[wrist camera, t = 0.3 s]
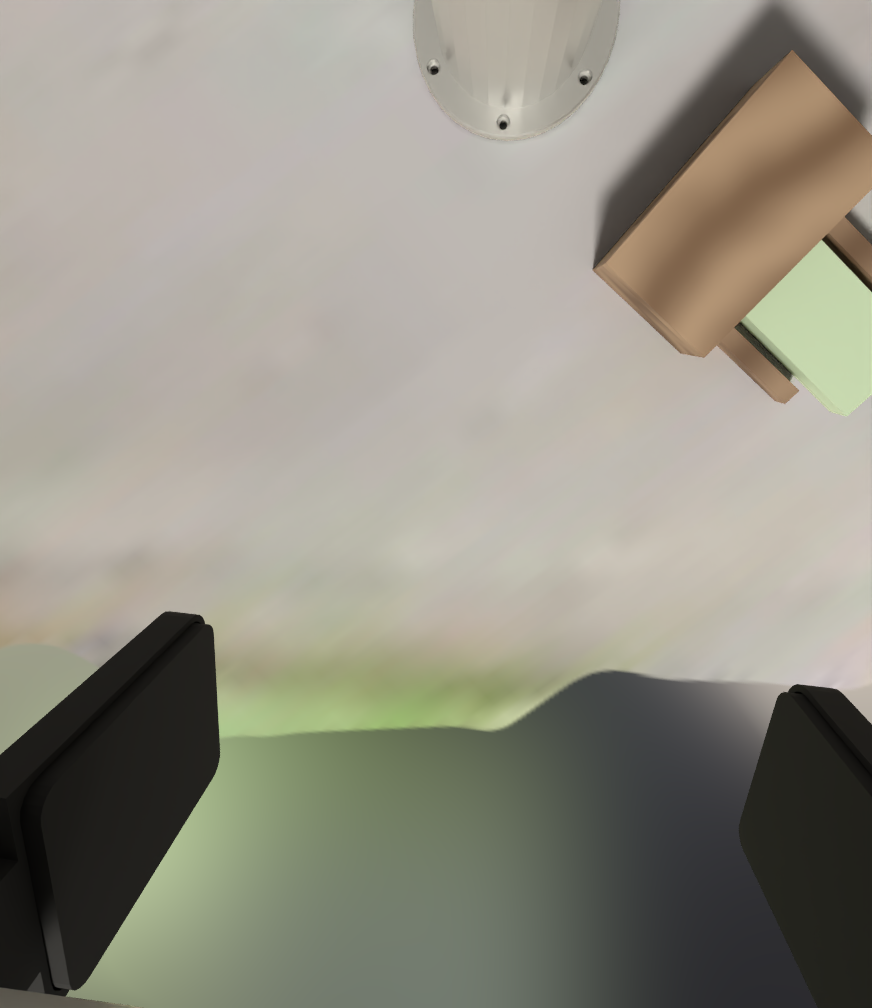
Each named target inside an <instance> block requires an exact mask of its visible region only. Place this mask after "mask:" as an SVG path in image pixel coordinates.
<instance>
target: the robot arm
mask: <svg viewBox="0 0 872 1008" xmlns="http://www.w3.org/2000/svg"><path fill="white" fill-rule="evenodd" d="M619 15H620V0H415V3H414V10H413V37H414V43H415V48H416V54H417V59H418V63H419V66H420V69H421V73H422V75H423V78H424V80H425V82H426V84H427V86H428V89H429V91H430V93H431V94H432V96H433V97H434V99H435V100H436V102H437V103H438V105H439V106H440V107H441V109H442V110H443V111H444V112H445V113H446V114H447V115H448V116H449V117H450V118H451V119H452V120H453V121H454V122H455V123H457V124H459V125H460V126H462V127H463V128H465V129H466V130H468V131H470V132H471V133H474V134H477V135H480V136H482V137H485V138H488V139H495V140H503V141H511V140H522V139H527V138H530V137H533V136H537V135H540V134H543V133H545V132H547V131H548V130H550V129H552V128H554V127H556V126H558V125H559V124H561V123H562V122H563V121H565V120H566V119H567V118H568V117H569V116H571V115H572V114H573V113H574V112H576V111H577V109H578V108H579V107H580V106H581V105H582V104H583V102H584V101H585V100H586V99H587V98H588V97H589V96H590V94H591V92H592V91H593V89H594V88H595V86H596V84H597V83H598V81H599V79H600V78H601V76H602V74H603V71H604V69H605V67H606V65H607V63H608V61H609V58H610V54H611V51H612V48H613V45H614V42H615V39H616V34H617V28H618V21H619ZM435 68H436V69H438V70H439V71H438V73H437V74H436V75H432V74H431V71H432V70H433V69H435ZM581 78H585V79H586V80H587V84H586V85H582V84H580V79H581ZM503 122H504V123H506V125H507V128H506V129H504V130H502V129H500V128H499V125H500V124H501V123H503ZM219 758H220V743H219V724H218V706H217V687H216V668H215V649H214V633H213V628H212V626H210V625H207V624H205V621H204V619H203V617H202V616H200V615H196V614H187V613H179V612H170V611H169V612H164V613H163V614H161V615H160V616H159V617H158V618H157V619H155V620H154V621H153V622H152V623H151V624H150V625H149V626H147V627H146V628H145V629H144V630H143V631H142V632H140V633H139V634H138V635H137V636H136V637H135V638H134V639H132V640H131V641H130V642H129V643H128V644H127V645H126V646H124V647H123V648H122V649H121V650H120V651H119V652H118V653H116V654H115V655H114V656H113V657H112V658H111V659H110V660H108V661H107V662H106V663H105V664H104V665H103V666H102V667H100V668H99V669H98V670H97V671H96V672H95V673H94V674H92V675H91V676H90V677H89V678H88V679H87V680H85V681H84V682H83V683H82V684H81V685H80V686H79V687H77V689H75V690H74V691H73V692H72V693H71V694H70V695H68V696H67V697H66V698H65V699H64V700H63V701H61V702H60V703H59V704H58V705H57V706H56V707H55V708H53V709H52V710H51V711H50V712H49V713H48V714H46V716H44V717H43V718H42V719H41V720H40V721H38V722H37V723H36V724H35V725H34V726H33V727H32V728H30V729H29V730H28V731H27V732H26V733H25V734H24V735H22V736H21V737H20V738H19V739H18V740H17V741H16V742H14V743H13V744H12V745H11V746H10V747H9V748H8V749H6V750H5V751H4V752H3V753H2V754H1V755H0V1008H142V1007H136V1006H130V1005H123V1004H115V1003H108V1002H101V1001H94V1000H86V999H79V998H72V997H65V996H66V995H67V993H68V992H69V990H77V989H79V988H80V987H81V986H82V985H83V984H84V983H85V982H86V981H87V979H88V978H89V977H90V975H91V974H92V972H93V970H94V969H95V967H96V966H97V964H98V962H99V961H100V959H101V957H102V955H103V954H104V952H105V951H106V949H107V948H108V946H109V945H110V943H111V941H112V940H113V938H114V936H115V935H116V933H117V932H118V930H119V928H120V927H121V925H122V924H123V922H124V920H125V919H126V917H127V916H128V914H129V912H130V911H131V909H132V908H133V906H134V904H135V902H136V901H137V899H138V898H139V896H140V895H141V893H142V891H143V890H144V888H145V886H146V885H147V883H148V882H149V880H150V878H151V877H152V875H153V873H154V872H155V870H156V868H157V867H158V866H159V864H160V862H161V861H162V859H163V857H164V856H165V854H166V853H167V851H168V849H169V848H170V846H171V845H172V843H173V841H174V840H175V838H176V836H177V835H178V833H179V832H180V830H181V828H182V826H183V825H184V824H185V822H186V820H187V819H188V817H189V815H190V814H191V812H192V811H193V809H194V807H195V806H196V804H197V803H198V801H199V799H200V798H201V796H202V795H203V793H204V791H205V790H206V788H207V787H208V785H209V783H210V782H211V780H212V778H213V777H214V775H215V773H216V770H217V767H218V763H219ZM739 836H740V842H741V846H742V848H743V851H744V853H745V855H746V857H747V859H748V861H749V863H750V865H751V868H752V870H753V872H754V874H755V876H756V878H757V880H758V882H759V885H760V886H761V889H762V891H763V893H764V895H765V897H766V899H767V901H768V904H769V906H770V908H771V910H772V912H773V914H774V916H775V918H776V920H777V923H778V925H779V927H780V929H781V931H782V933H783V935H784V937H785V939H786V942H787V944H788V946H789V948H790V950H791V952H792V954H793V956H794V959H795V961H796V963H797V965H798V967H799V969H800V971H801V973H802V975H803V978H804V980H805V982H806V984H807V986H808V988H809V990H810V992H811V995H812V997H813V999H814V1001H815V1003H816V1005H817V1007H818V1008H872V724H871V723H870V722H869V721H868V720H867V719H866V718H865V717H864V716H863V715H862V714H861V713H860V712H859V711H858V709H856V707H855V706H854V705H853V704H852V703H851V702H850V701H849V700H848V699H847V698H846V697H845V696H844V695H843V694H842V693H841V692H840V691H839V690H837V689H833V688H825V687H816V686H808V685H799V684H797V685H794V686H792V687H791V688H790V689H789V691H788V692H784V693H781V694H780V695H779V696H778V698H777V701H776V704H775V707H774V710H773V714H772V717H771V720H770V723H769V727H768V730H767V733H766V737H765V740H764V744H763V747H762V750H761V753H760V757H759V760H758V763H757V767H756V770H755V773H754V777H753V780H752V783H751V787H750V790H749V793H748V797H747V800H746V803H745V806H744V810H743V813H742V816H741V820H740V824H739Z"/></svg>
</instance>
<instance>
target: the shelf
mask: <svg viewBox="0 0 872 1008" xmlns="http://www.w3.org/2000/svg"><path fill="white" fill-rule="evenodd" d="M871 189H872V135H871V134H870V133H869V132H868V131H867V130H866V129H865V128H864V127H863V126H862V125H861V123H860V122H859V121H858V120H857V119H856V118H855V117H854V116H853V115H852V114H851V113H850V112H849V111H848V109H847V108H846V107H845V106H844V105H843V104H842V103H841V102H840V101H839V100H838V99H837V98H836V97H835V95H834V94H833V93H832V92H831V91H830V90H829V89H828V88H827V87H826V86H825V85H824V84H823V82H822V81H821V80H820V79H819V78H818V77H817V76H816V75H815V74H814V73H813V72H812V71H811V70H810V68H809V67H808V66H807V65H806V64H805V63H804V62H803V61H802V60H801V59H800V58H799V57H798V56H797V54H796V53H795V52H794V51H793V50H792V51H790V52H789V53H788V54H787V55H786V56H785V57H784V58H783V59H782V60H781V61H779V62H778V63H777V64H776V65H775V66H774V67H773V68H772V69H771V70H770V71H768V72H767V73H766V74H765V75H764V76H763V77H762V78H761V79H760V80H759V81H757V82H756V83H755V84H754V85H753V86H752V87H751V89H750V90H749V91H748V92H747V93H746V94H745V95H744V97H743V98H742V99H741V100H740V101H739V102H738V104H737V105H736V106H735V107H734V108H733V109H732V110H731V112H730V113H729V114H728V115H727V116H726V117H725V118H724V120H723V121H722V122H721V123H720V124H719V125H718V127H717V128H716V129H715V130H714V131H713V132H712V133H711V135H710V136H709V137H708V138H707V139H706V140H705V141H704V143H703V144H702V145H701V146H700V147H699V148H698V149H697V151H696V152H695V153H694V154H693V155H692V156H691V158H690V159H689V160H688V161H687V162H686V163H685V164H684V166H683V167H682V168H681V169H680V170H679V171H678V172H677V174H676V175H675V176H674V177H673V178H672V179H671V181H670V182H669V183H668V184H667V185H666V186H665V187H664V189H663V190H662V191H661V192H660V193H659V194H658V195H657V197H656V198H655V199H654V200H653V201H652V202H651V204H650V205H649V206H648V207H647V208H646V209H645V210H644V212H643V213H642V214H641V215H640V216H639V217H638V218H637V220H636V221H635V222H634V223H633V224H632V225H631V226H630V228H629V229H628V230H627V231H626V232H625V233H624V235H623V236H622V237H621V238H620V239H619V240H618V241H617V243H616V244H615V245H614V246H613V247H612V248H611V249H610V251H609V252H608V253H607V254H606V255H605V256H604V258H603V259H602V260H601V261H600V262H599V263H598V264H597V266H596V267H595V268H594V269H593V271H594V272H595V273H596V274H597V275H598V276H599V277H600V278H602V279H603V280H604V281H605V282H606V283H607V284H608V285H609V286H610V287H611V288H612V289H613V290H614V291H615V292H616V293H617V294H618V295H619V296H621V297H622V298H623V299H624V300H625V301H626V302H627V303H628V304H629V305H630V306H631V307H632V308H633V309H634V310H635V311H636V312H637V313H638V314H640V315H641V316H642V317H643V318H644V319H645V320H646V321H647V322H648V323H649V324H650V325H651V326H652V327H653V328H654V329H655V330H656V331H658V332H659V333H660V334H661V335H662V336H663V337H664V338H665V339H666V340H667V341H668V342H669V343H670V344H671V345H672V346H673V347H674V348H675V349H677V350H678V351H679V352H680V353H681V354H687V355H693V356H698V357H705V356H706V355H707V354H708V353H709V352H710V351H711V350H712V349H713V348H714V347H715V346H716V345H717V346H718V347H719V348H720V349H721V350H722V351H724V352H725V353H726V354H727V355H728V356H729V357H730V358H731V359H732V360H733V361H734V362H735V363H736V364H737V365H738V366H739V367H740V368H741V369H742V370H743V371H744V372H745V373H746V374H747V375H749V376H750V377H751V378H752V379H753V380H754V381H755V382H756V383H757V384H758V385H759V386H760V387H761V388H762V389H763V390H764V391H765V392H766V393H767V394H768V395H769V396H770V397H771V398H772V399H774V400H775V401H777V402H780V403H784V404H785V403H787V402H788V401H789V400H790V399H791V398H792V397H793V396H794V395H795V394H796V393H797V392H798V391H799V390H798V389H797V388H796V387H795V386H794V385H793V384H792V383H791V382H790V381H789V380H788V379H787V378H786V377H785V376H784V375H783V374H782V373H781V372H780V371H778V370H777V369H776V368H775V367H774V366H773V365H772V364H771V363H770V362H769V361H768V360H767V359H766V358H765V357H764V356H763V355H762V354H761V353H760V352H759V351H758V350H757V349H756V348H755V347H754V346H753V345H752V344H751V343H750V342H749V341H748V340H747V339H745V338H744V337H743V336H742V335H741V334H740V333H739V332H738V331H737V330H736V329H735V328H734V327H735V326H736V325H737V324H738V323H739V322H740V321H741V320H742V319H743V318H744V317H745V316H746V315H747V314H748V313H749V312H750V311H751V310H752V309H753V308H754V307H755V306H756V305H757V304H758V303H759V302H760V301H761V300H762V299H763V298H764V297H765V296H766V295H767V294H768V293H769V292H770V291H771V290H772V289H773V288H774V287H775V286H776V285H777V284H778V283H779V282H780V281H781V280H782V279H783V278H784V277H785V276H786V275H787V274H788V273H789V272H790V271H791V270H792V269H793V268H794V267H795V266H796V265H797V264H798V263H799V262H800V261H801V260H802V259H803V258H804V257H805V256H806V255H807V254H808V253H809V252H810V251H811V250H812V249H813V248H814V247H815V246H816V245H817V244H818V243H819V242H820V241H821V240H822V241H823V242H824V243H825V244H826V245H827V246H828V247H829V248H830V249H831V250H832V251H833V252H834V253H835V254H836V255H837V256H838V258H839V259H840V260H841V261H842V262H843V263H844V264H845V265H846V266H847V267H848V268H849V269H850V270H851V271H852V272H853V273H854V274H855V275H856V276H857V277H858V278H859V280H860V281H861V282H862V283H863V284H864V285H865V286H866V287H867V288H868V289H869V290H870V291H871V292H872V245H871V244H870V243H869V242H868V241H867V240H866V238H865V237H864V236H863V235H862V234H861V233H860V232H859V231H858V230H857V229H856V228H855V227H854V226H853V225H852V224H851V223H850V222H849V221H848V220H847V219H846V218H845V217H844V216H845V215H846V214H847V213H848V212H849V211H850V210H851V209H852V208H853V207H854V206H855V205H856V204H857V203H858V202H859V201H860V200H861V199H862V198H863V197H864V196H865V195H866V194H867V193H868V192H869V191H870V190H871Z"/></svg>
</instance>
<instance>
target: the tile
mask: <svg viewBox="0 0 872 1008" xmlns="http://www.w3.org/2000/svg"><path fill="white" fill-rule="evenodd" d="M740 323H741V324H742V325H743V326H744V327H745V328H746V329H747V330H748V331H749V332H750V333H751V334H752V335H753V336H754V337H755V338H756V339H757V340H758V341H759V342H760V343H761V344H762V345H763V346H764V347H765V348H766V349H767V350H768V351H769V352H770V353H771V354H772V355H773V356H774V357H775V358H776V359H777V360H778V361H779V362H780V363H781V364H782V365H783V366H784V367H785V368H786V369H787V370H788V371H789V372H790V373H791V374H792V375H793V376H794V377H795V378H796V379H797V380H798V381H799V382H800V383H801V384H802V385H803V386H804V387H805V388H806V389H807V390H808V391H809V392H810V393H811V394H812V395H813V396H814V397H815V398H817V399H818V400H819V401H820V402H821V403H822V404H823V405H824V406H825V407H826V408H827V409H828V410H829V411H830V412H832V413H836V414H840V415H843V416H848V415H849V414H850V413H851V412H852V411H853V410H855V409H856V408H857V407H858V406H859V405H860V404H862V403H863V402H864V401H865V400H866V399H867V398H868V397H870V396H871V395H872V292H871V291H870V290H869V289H868V288H867V287H866V286H865V285H864V284H863V283H862V282H861V281H860V280H859V278H858V277H857V276H856V275H855V274H854V273H853V272H852V271H851V270H850V269H849V268H848V267H847V266H846V265H845V264H844V263H843V262H842V261H841V260H840V259H839V258H838V256H837V255H836V254H835V253H834V252H833V251H832V250H831V249H830V248H829V247H828V246H827V245H826V244H825V243H824V242H823V241H822V240H821V241H820V242H819V243H818V244H817V245H816V246H815V247H814V248H813V249H812V250H811V251H810V252H809V253H808V254H807V255H806V256H805V257H804V258H803V259H802V260H801V261H800V262H799V263H798V264H797V265H796V266H795V267H794V268H793V269H792V270H791V271H790V272H789V273H788V274H787V275H786V276H785V277H784V278H783V279H782V280H781V281H780V282H779V283H778V284H777V285H776V286H775V287H774V288H773V289H772V290H771V291H770V292H769V293H768V294H767V295H766V296H765V297H764V298H763V299H762V300H761V301H760V302H759V303H758V304H757V305H756V306H755V307H754V308H753V309H752V310H751V311H750V312H749V313H748V314H747V315H746V316H745V317H744V318H743V319H742V320H741V321H740Z"/></svg>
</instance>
